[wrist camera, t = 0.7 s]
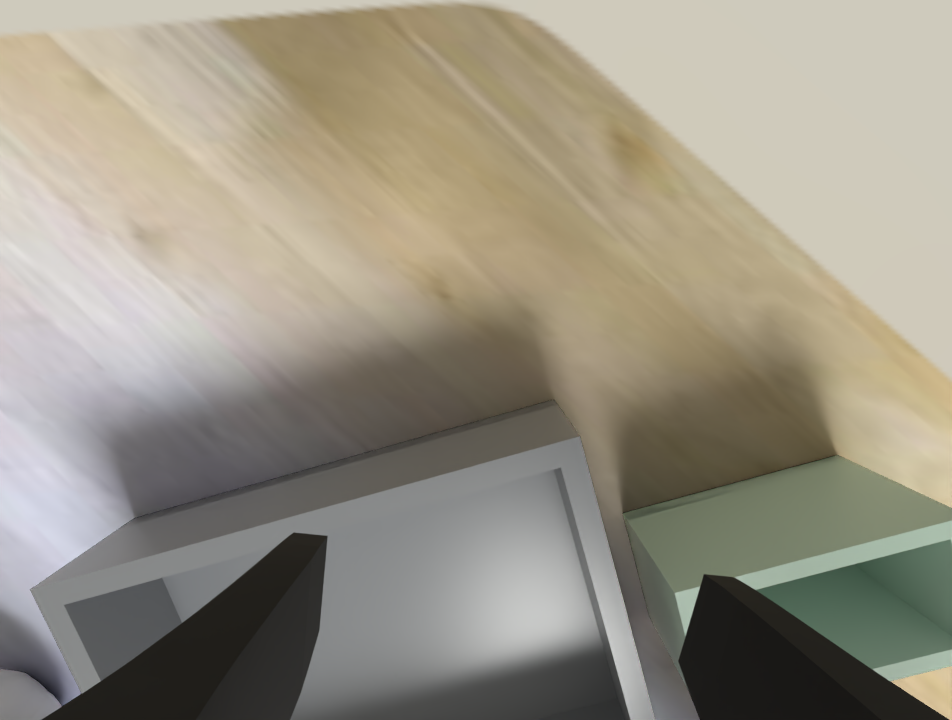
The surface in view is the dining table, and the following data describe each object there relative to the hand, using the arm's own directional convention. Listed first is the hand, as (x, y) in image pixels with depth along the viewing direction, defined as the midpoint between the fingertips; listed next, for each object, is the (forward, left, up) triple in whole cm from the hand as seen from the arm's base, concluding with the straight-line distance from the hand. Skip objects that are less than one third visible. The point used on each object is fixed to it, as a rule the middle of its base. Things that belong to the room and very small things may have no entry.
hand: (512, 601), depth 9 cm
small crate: (-7, -9, -10) cm, 15 cm away
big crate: (-6, +6, -10) cm, 13 cm away
